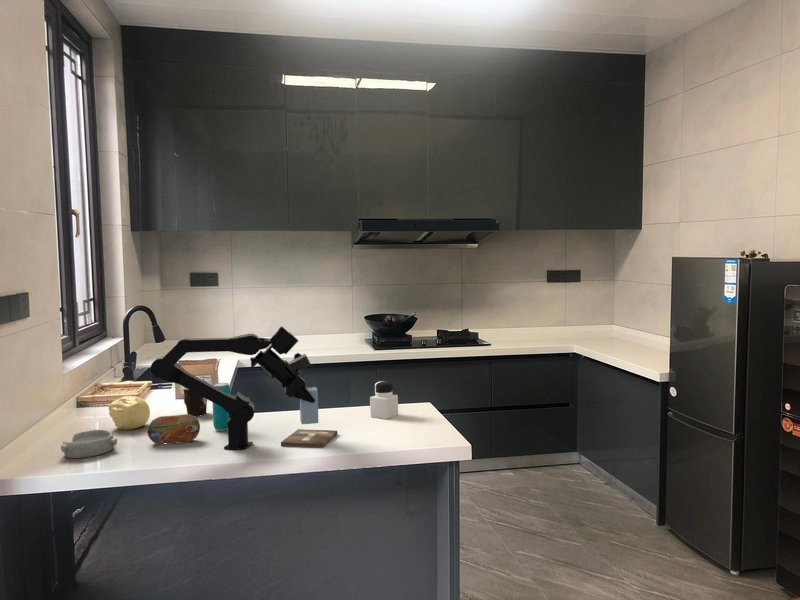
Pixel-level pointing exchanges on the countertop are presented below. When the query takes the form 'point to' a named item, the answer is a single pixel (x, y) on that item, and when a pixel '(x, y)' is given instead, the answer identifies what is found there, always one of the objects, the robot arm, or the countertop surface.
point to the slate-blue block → (309, 408)
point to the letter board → (309, 438)
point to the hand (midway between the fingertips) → (313, 399)
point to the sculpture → (129, 412)
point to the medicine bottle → (384, 401)
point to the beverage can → (220, 410)
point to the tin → (174, 429)
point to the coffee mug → (194, 403)
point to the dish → (89, 444)
